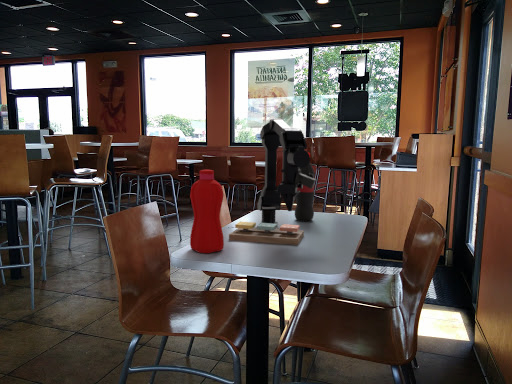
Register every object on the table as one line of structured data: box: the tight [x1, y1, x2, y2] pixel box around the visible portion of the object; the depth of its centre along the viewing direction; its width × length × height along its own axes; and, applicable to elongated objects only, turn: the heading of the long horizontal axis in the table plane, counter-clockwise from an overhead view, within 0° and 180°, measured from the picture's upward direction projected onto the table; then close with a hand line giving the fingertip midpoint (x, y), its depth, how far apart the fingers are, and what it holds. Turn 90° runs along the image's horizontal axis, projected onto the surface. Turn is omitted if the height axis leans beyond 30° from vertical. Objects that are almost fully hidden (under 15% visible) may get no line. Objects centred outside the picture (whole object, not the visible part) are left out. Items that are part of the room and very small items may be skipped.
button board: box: [228, 226, 305, 246], centre depth 138 cm, size 14×24×2 cm, turn 75°
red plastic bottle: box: [189, 169, 225, 254], centre depth 120 cm, size 9×11×25 cm
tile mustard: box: [234, 221, 257, 232], centre depth 140 cm, size 6×6×3 cm
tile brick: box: [279, 223, 301, 235], centre depth 136 cm, size 6×6×3 cm
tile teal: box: [256, 222, 278, 233], centre depth 138 cm, size 6×6×3 cm
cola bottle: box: [294, 152, 316, 222], centre depth 171 cm, size 8×8×30 cm
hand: (290, 211), depth 135 cm, fingers closed
